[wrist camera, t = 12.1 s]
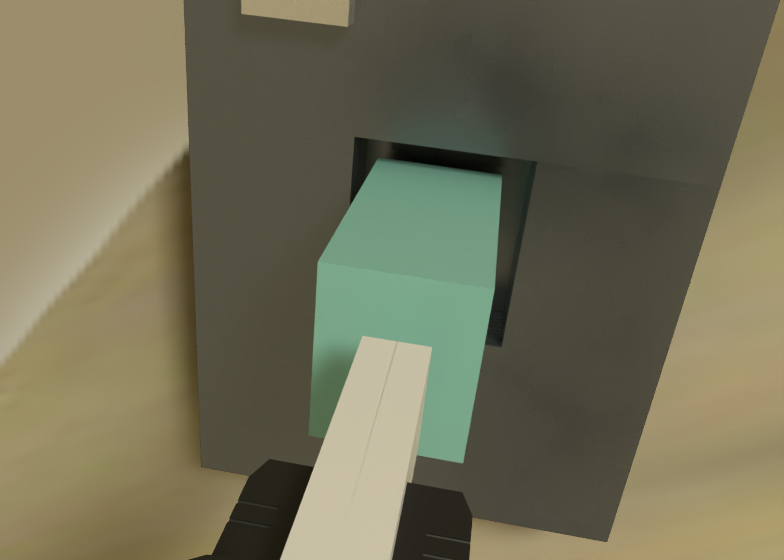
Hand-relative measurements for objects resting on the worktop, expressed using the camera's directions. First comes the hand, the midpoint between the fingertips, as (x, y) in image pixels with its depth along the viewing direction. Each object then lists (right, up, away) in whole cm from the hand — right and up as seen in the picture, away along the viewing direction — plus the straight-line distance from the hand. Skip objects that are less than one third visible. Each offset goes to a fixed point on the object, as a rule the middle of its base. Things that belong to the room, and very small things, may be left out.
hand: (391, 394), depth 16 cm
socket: (+2, +5, +10) cm, 12 cm away
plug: (+2, +4, +10) cm, 11 cm away
